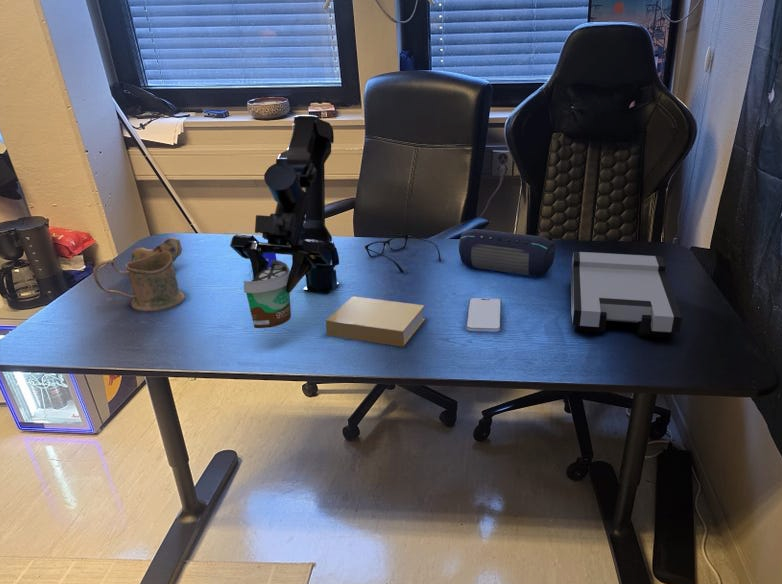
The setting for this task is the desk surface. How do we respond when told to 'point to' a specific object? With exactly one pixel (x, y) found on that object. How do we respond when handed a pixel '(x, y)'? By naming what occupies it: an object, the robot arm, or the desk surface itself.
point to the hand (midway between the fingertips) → (271, 290)
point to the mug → (150, 282)
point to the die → (270, 258)
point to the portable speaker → (506, 252)
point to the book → (375, 321)
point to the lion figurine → (159, 250)
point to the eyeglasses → (395, 250)
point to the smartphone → (484, 315)
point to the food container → (269, 296)
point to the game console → (622, 293)
